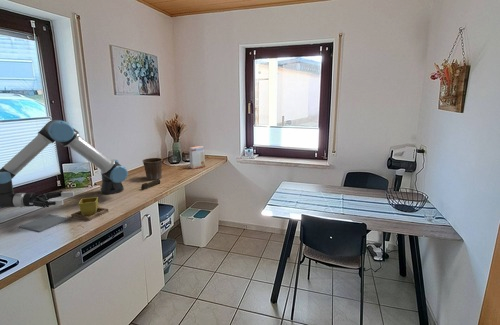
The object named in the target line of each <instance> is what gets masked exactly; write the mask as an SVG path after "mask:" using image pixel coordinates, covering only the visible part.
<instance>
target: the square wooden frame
mask: <svg viewBox="0 0 500 325" xmlns="http://www.w3.org/2000/svg"><path fill="white" fill-rule="evenodd" d="M106 213H109V208H104V207H99V206H98V208H97V211H96V213H95V214H94V215H92V216H84V215H83V214H82V213H81V211H80V210H78V211H76V212H73V213H72V214H70V217H71V218H73V219H77V220H83V221H87V222H89V221H92V220H94V219H96V218H98V217H100V215H101V216H103V215H105V214H106ZM102 214H103V215H102Z"/></svg>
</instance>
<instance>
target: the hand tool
mask: <svg viewBox="0 0 500 325" xmlns="http://www.w3.org/2000/svg"><path fill="white" fill-rule="evenodd" d="M160 184H161V180H160V179H156V180H152V181H150V182H145V183H142V184H141V186H140V190H141V191H144V190H148V189H149V188H150V187H153V186H156V185H160Z"/></svg>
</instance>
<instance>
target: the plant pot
mask: <svg viewBox="0 0 500 325" xmlns="http://www.w3.org/2000/svg"><path fill="white" fill-rule="evenodd" d="M142 164H143V166H144V170H145V176H146V180H147V181H148V180H149V181H151V180H152V181H154V180H156V179H159V180H160V179H162V177H163V176H162V171H163V169H162V168H163V158H160V157H151V158H150V157H148V158H145V159H142Z"/></svg>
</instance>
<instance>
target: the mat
mask: <svg viewBox="0 0 500 325" xmlns="http://www.w3.org/2000/svg"><path fill="white" fill-rule="evenodd" d="M69 220H70V218H68V217H64V216H59V215H55V214H47V215H44V216H42V217H38V218H36V219H33V220H31V221H28V222H26V223H24V224H20V225H18V228H21V229H24V230H30V231H33V232H38V233H41V232H44V231H46V230H48V229H51V228H53V227H56V226H57V225H59V224H62V223H65V222H67V221H69Z"/></svg>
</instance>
